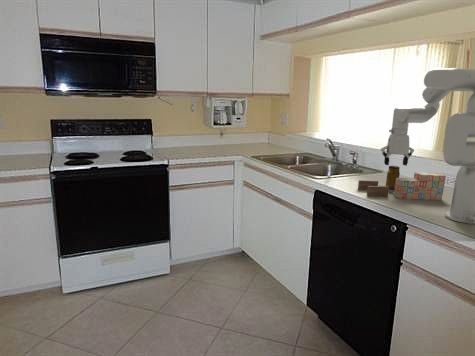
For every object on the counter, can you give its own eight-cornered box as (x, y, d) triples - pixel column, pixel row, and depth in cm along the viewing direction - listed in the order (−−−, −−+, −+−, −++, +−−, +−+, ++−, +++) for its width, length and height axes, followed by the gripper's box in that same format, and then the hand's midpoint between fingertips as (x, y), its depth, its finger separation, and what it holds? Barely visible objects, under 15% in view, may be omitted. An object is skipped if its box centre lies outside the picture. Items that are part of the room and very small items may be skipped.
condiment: (384, 186, 194) (387, 164, 191) (401, 188, 191) (404, 166, 188) (384, 189, 187) (387, 166, 185) (402, 191, 184) (405, 168, 182)
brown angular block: (387, 196, 174) (388, 187, 173) (367, 196, 174) (368, 186, 173) (376, 189, 187) (377, 180, 186) (357, 189, 187) (358, 180, 186)
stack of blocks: (399, 199, 171) (403, 174, 169) (393, 195, 178) (396, 171, 175) (442, 199, 173) (446, 175, 170) (434, 196, 179) (438, 172, 176)
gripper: (386, 132, 178) (382, 165, 182) (419, 133, 179) (415, 166, 182) (379, 131, 186) (376, 163, 189) (412, 132, 186) (408, 164, 190)
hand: (395, 165), depth 186 cm, fingers open, 9 cm apart
